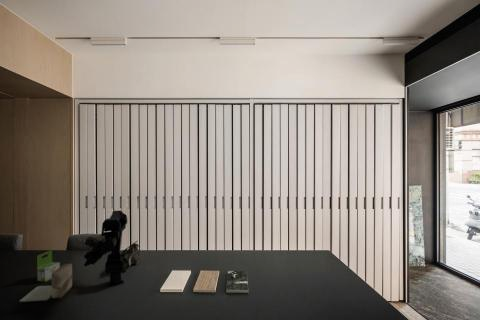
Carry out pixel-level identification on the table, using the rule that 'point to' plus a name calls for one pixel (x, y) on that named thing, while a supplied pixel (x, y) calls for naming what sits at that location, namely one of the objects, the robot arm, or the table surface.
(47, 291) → the mat
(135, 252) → the hollow geode rock
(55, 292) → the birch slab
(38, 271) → the ink box
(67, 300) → the table surface
